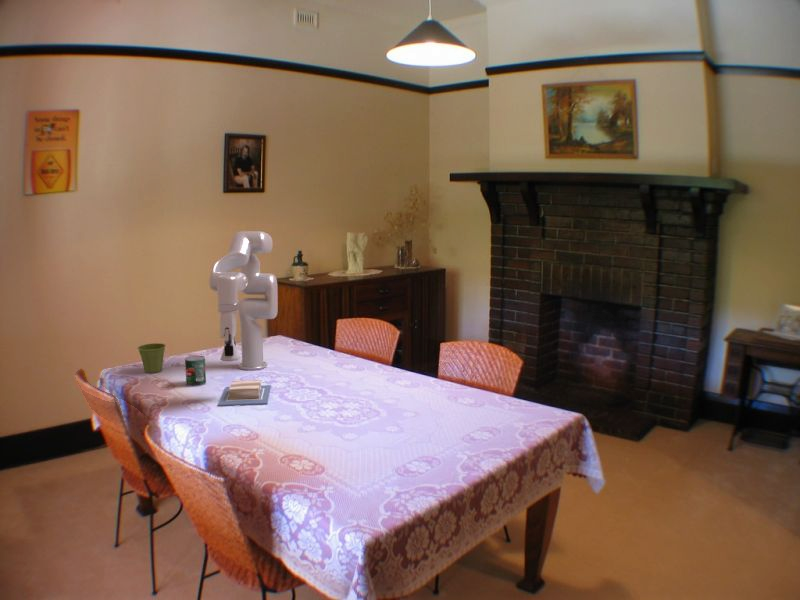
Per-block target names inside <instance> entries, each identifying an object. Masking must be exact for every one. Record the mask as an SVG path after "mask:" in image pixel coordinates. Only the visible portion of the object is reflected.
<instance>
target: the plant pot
mask: <svg viewBox="0 0 800 600" xmlns="http://www.w3.org/2000/svg"><path fill="white" fill-rule="evenodd" d="M166 347H167V344H166V343H160V342H159V343H158V342H155V343H154V342H153V343H147V344H143V345H142V344H141V345H139V346H137V347H136V348H137V350H138V352H139V354H140V358H141V361H142V362H141V363H142V366H143V369H144V372H145V373H146V372H147V373H146V374H154V373H160V372H162V371H163V365H164V356H165V355H164V353H165V349H166Z"/></svg>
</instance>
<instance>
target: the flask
mask: <svg viewBox="0 0 800 600" xmlns="http://www.w3.org/2000/svg"><path fill="white" fill-rule="evenodd" d="M229 338H231V336H229ZM229 340H230V339H229ZM234 342H235V341H234V340H233V338H232V345H233V354H234V355H233V356H225V349H224V348H223V351H222V353H221V356H220V361H222V362H234V361H235V362H237V361H239V360H240V359H241V356H240V354H239V351H238V349H237V347H236V346H235V344H234Z"/></svg>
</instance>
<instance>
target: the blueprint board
mask: <svg viewBox="0 0 800 600" xmlns="http://www.w3.org/2000/svg"><path fill="white" fill-rule="evenodd" d="M229 388H230V386H226V387H225V388H224V390H223V393H222V395H221V396H220V399H219V402H218V404H217V406H218V407H233V406H234V405H240V406H257V405H259V406H261V405H262V406H263V404H265V405H268V402H269V399H270V398H269V397H270V394H269V393H271V388H272V385H271V384H269V385H266V384H265V385H261V392H260V396H259V399H234V400H229ZM234 407H235V406H234Z"/></svg>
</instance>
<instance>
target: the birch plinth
mask: <svg viewBox="0 0 800 600" xmlns="http://www.w3.org/2000/svg"><path fill="white" fill-rule="evenodd" d="M261 386H262V380H261V379H255V380H253V379H251V380H232V381H231V384H230V386H229V387H230V388H229V400H234V399H259V396H260V392H261Z"/></svg>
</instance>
